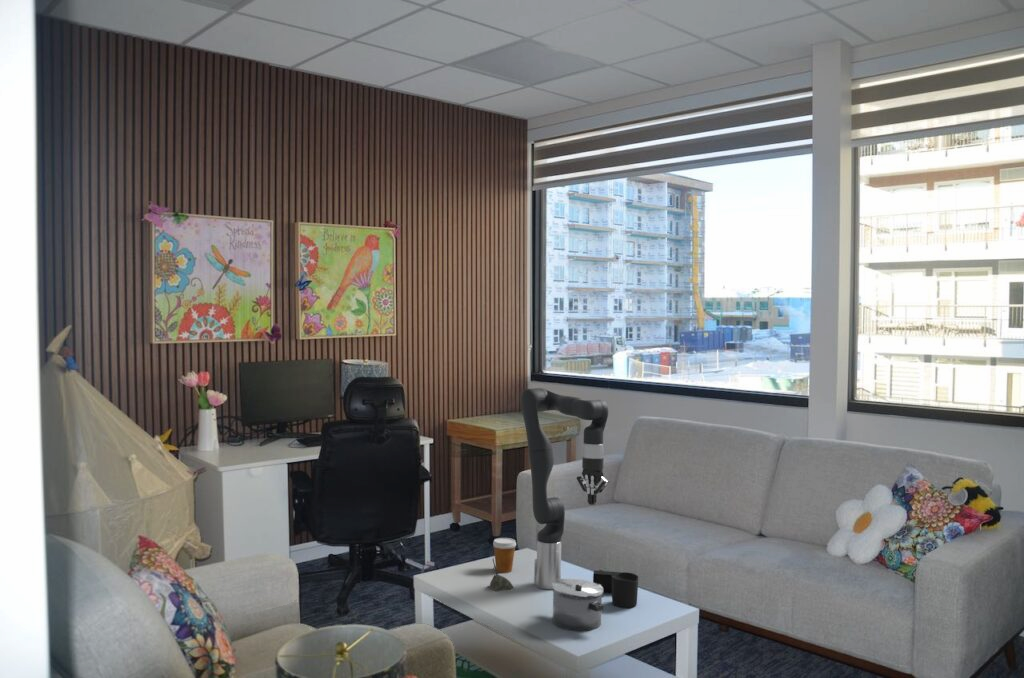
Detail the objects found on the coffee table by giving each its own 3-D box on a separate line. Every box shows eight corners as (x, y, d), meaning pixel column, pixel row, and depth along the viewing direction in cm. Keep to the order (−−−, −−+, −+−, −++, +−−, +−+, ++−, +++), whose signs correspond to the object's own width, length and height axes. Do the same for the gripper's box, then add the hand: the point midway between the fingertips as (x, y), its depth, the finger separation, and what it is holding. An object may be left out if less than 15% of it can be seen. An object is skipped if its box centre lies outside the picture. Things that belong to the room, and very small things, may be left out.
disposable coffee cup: (507, 575, 310) (508, 545, 310) (487, 571, 315) (488, 541, 315) (520, 569, 318) (520, 540, 318) (500, 565, 323) (501, 536, 323)
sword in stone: (506, 583, 301) (508, 552, 301) (516, 590, 294) (518, 558, 294) (483, 586, 296) (484, 555, 296) (493, 593, 289) (494, 561, 289)
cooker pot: (577, 606, 276) (577, 578, 276) (621, 627, 257) (622, 597, 257) (537, 615, 266) (537, 586, 266) (580, 638, 247) (580, 606, 247)
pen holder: (640, 608, 275) (641, 580, 275) (614, 608, 274) (614, 580, 274) (634, 599, 284) (635, 572, 284) (608, 599, 284) (609, 572, 284)
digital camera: (621, 589, 296) (621, 571, 296) (621, 594, 290) (621, 575, 290) (593, 587, 297) (594, 569, 297) (592, 592, 292) (593, 573, 292)
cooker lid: (582, 580, 273) (583, 572, 273) (615, 594, 259) (616, 585, 259) (541, 584, 263) (542, 575, 263) (573, 599, 249) (574, 590, 249)
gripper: (571, 454, 282) (570, 503, 282) (602, 459, 273) (601, 509, 273) (583, 452, 287) (582, 500, 288) (614, 457, 279) (613, 505, 279)
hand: (592, 504), depth 280 cm, fingers closed
